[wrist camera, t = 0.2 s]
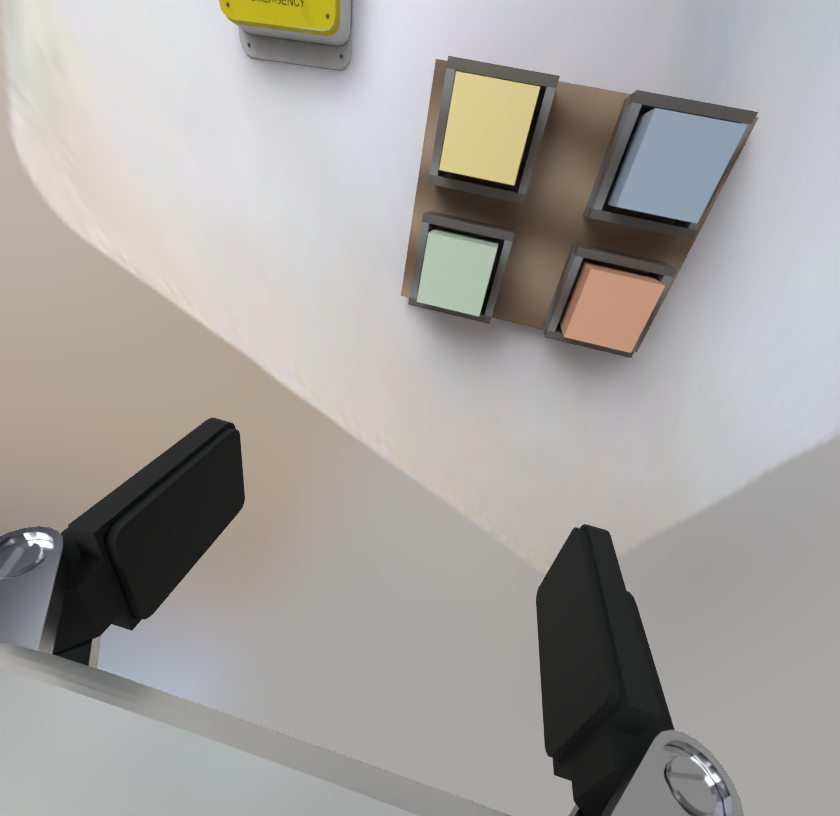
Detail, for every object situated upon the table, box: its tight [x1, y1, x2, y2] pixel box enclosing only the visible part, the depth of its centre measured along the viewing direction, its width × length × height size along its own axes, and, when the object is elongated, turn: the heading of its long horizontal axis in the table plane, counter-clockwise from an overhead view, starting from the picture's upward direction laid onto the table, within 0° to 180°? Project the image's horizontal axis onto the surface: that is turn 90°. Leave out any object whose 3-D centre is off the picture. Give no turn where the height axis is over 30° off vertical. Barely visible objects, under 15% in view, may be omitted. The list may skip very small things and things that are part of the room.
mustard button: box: [439, 71, 540, 185], centre depth 26 cm, size 5×5×3 cm
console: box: [401, 56, 758, 358], centre depth 30 cm, size 17×22×5 cm
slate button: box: [606, 108, 748, 223], centre depth 25 cm, size 5×5×3 cm
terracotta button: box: [559, 261, 665, 353], centre depth 30 cm, size 5×5×3 cm
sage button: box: [417, 228, 499, 316], centre depth 31 cm, size 5×5×3 cm
